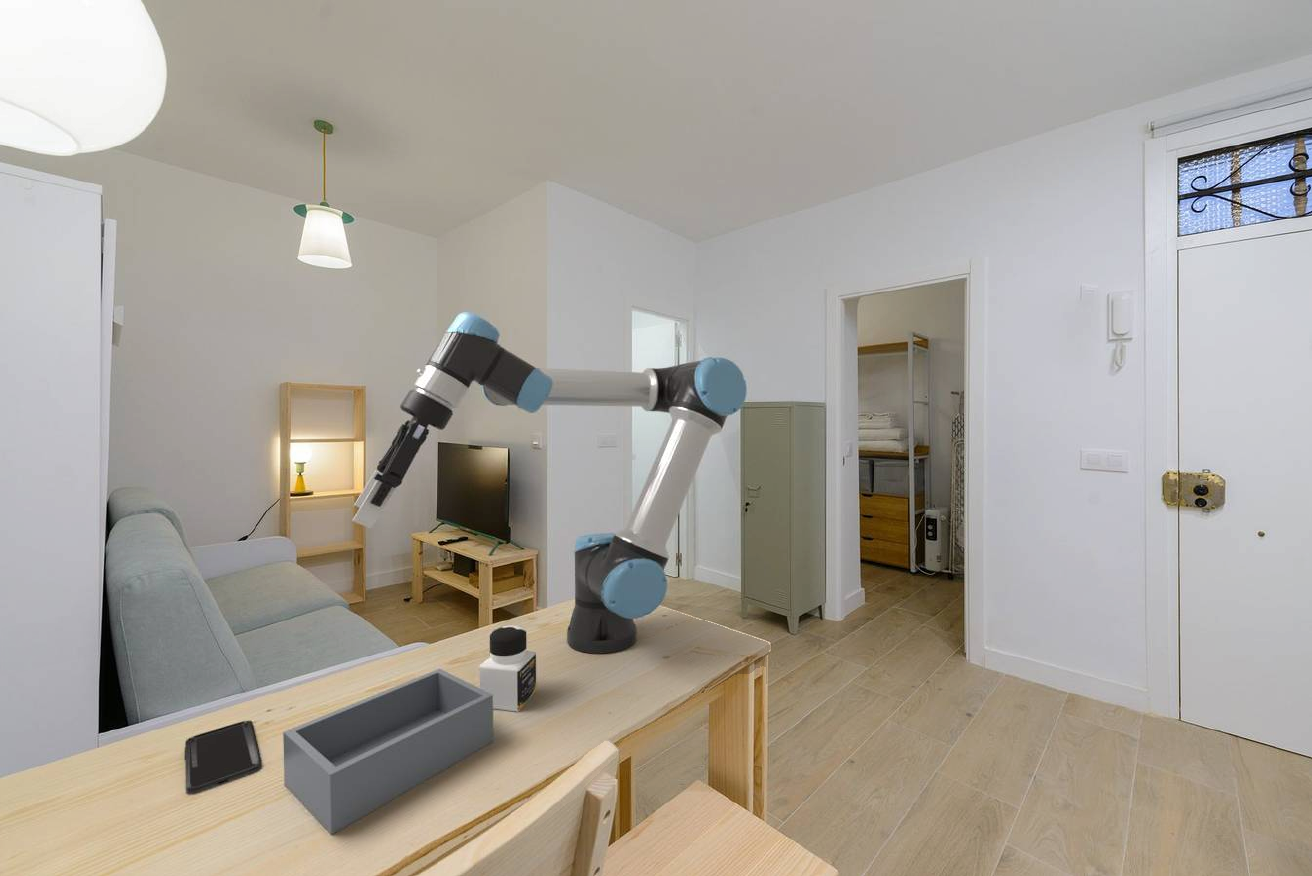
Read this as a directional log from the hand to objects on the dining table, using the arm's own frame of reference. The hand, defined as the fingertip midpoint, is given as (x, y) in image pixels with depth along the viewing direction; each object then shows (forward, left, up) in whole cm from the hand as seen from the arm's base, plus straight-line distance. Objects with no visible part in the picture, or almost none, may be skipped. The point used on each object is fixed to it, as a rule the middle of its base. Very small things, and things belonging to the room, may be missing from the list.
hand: (362, 516), depth 82 cm
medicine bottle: (-18, +13, -33) cm, 40 cm away
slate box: (+2, +14, -33) cm, 36 cm away
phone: (+16, -7, -33) cm, 38 cm away
